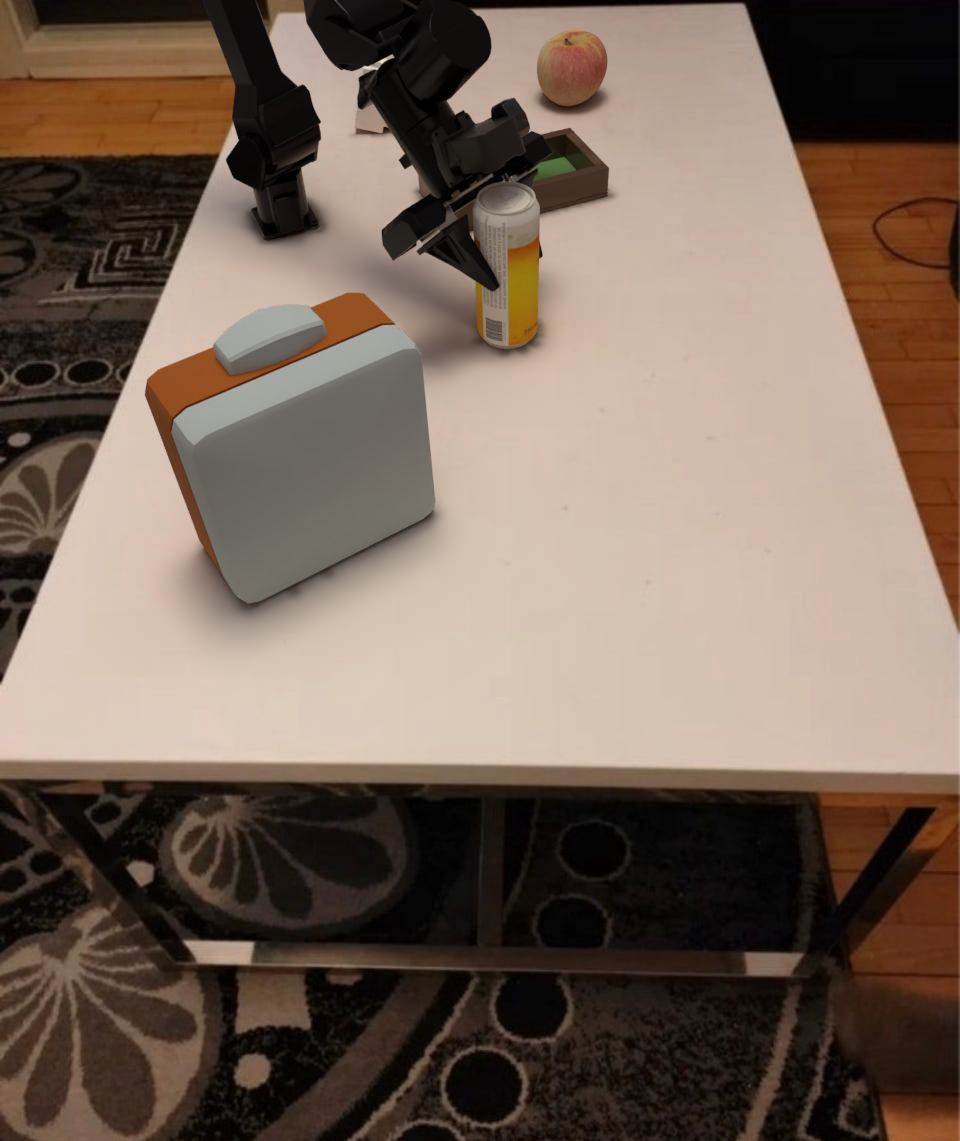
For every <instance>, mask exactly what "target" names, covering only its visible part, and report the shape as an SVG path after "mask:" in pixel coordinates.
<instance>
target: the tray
mask: <svg viewBox="0 0 960 1141" xmlns="http://www.w3.org/2000/svg"><path fill="white" fill-rule="evenodd" d="M540 134H541V135H543V137H544V139H545V140H546V142H547V144H548V145H549V147H550V149H551V150H552V152H553V153H552V154H551V155H549V156H548V157H547V158H546V159H544V160H543V161H542V162H541V163H539V164H538V165H537V166H536V167H534V168H533V169H532V170H531V171H529V173H530V172H532V171H533V170H535V169H536V168H538V175H537V176H535V177H534V180H533V185H532V190H533V191H534V193H535V196H536V199H537V201H538V203H539V206H540V214H542V213H546V212H550V211H555V210H557V209H558V210H559V209H561V208H566V207H569V206H570V207H571V206H574V205H578V204H581V203H585V202H589V201H593V200H597V199H600V198H601V199H602V198H605V197H608V191H609V190H608V189H609V175H610V167H609V166H608V165H607V164H606V163H605V162H604V161H603V160H602V159H601V158H600V157H599V155H597V154H596V152H594V151H593V150H592V149H591V148H590V146H589V145H588V144H587V143H586V142H585V141H584V140H583V139H582V138H581V137H580V136H578V134H577V133H576V132H575V131H574V130H573V129H572V128H571V127H567V128H562V129H558V130H554V131H550V132H545V133H540ZM417 178H418V191H419V193H420V194H421V196H422V198H424V197H426V196H427V195H429V194H430V192H429V191H428V189H427V188H426V186H425V184H424V183H423V181H422V180H421V178H420V177H419V175H418V174H417ZM476 183H477V182H475V183H473V184H472V185H470V186H473V185H474V184H476ZM458 194H459V192H458V191H457V192H455V193H454V194H452V195H451V196H452V197H453V198H454V197H455V196H457V195H458ZM475 201H476V199H475V200H474V201H472V202H471V203H469V204H468V205H466V206H465V207H463V208H461V209H460V210H458V211H457V212H455V215H456V216H457V218H458V219H459V218H461V217H462V216H464V215H465V214H467V215H468V221H469V230H470V232H472V231H473V206H474V203H475ZM473 232H474V231H473Z"/></svg>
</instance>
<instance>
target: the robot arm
mask: <svg viewBox="0 0 960 1141" xmlns="http://www.w3.org/2000/svg"><path fill="white" fill-rule="evenodd" d="M302 2H303V7H304V16H305V22H306V25H307V27H308V29H309V30H310V32H311V33H312V35H313V36H314V38H315V40H316V41H317V42H318V43H317V44H318V45H319V46H320V48H321V50H322V52H323V53H324V55H325V56H326V57H327V59H328V60H329V61H330V63H332V64H333V66H334V67H336V68H337V69H339V70H340V71H343V70H345V71H348V72H354V71H358V70H360V69H363V67H364V66H368V67H369V66H371V65H373V64H374V63H376V62H378V61H380V60H382V59H384V58H385V59H387V58H388V57H390V56H392V57H391V58H388V59H389V60H387V61H385V62H384V63H383V64H382V65H381V66H380V67H379V68H378V70H376V69H373V70H371V71H370V72H368V73H366V74H364V75H362V74H361V75H360V76H359V77H358V79H357V80H358V92H357V97H356V100H357V101H356V104H357V107H358V108H359V109H361V110H363V109H365V108H367V107H368V106H370V105H372V104H374V106H375V108H376V109H377V111H378V112H379V114H380V115H381V117H382V119H383V120H384V122H385V123H386V125H387V126H388V127H387V128H388V130H389V131H390V132H391V134H392V136H393V137H394V139H395V140H396V142H397V144H398V146H399V147H400V148H401V150H402V152H403V153H404V154H403V155H402V156H401V157H400V158H399V159H398V162H399V163H400V164H401V166H402V168H403V169H404V170H407V169H409V168H410V167H413V169H414V170H415V172H416V174H417V176H418V175H419V177H420V178H421V180H422V181H423V183H424V184H425V186H426V188H427V189H428V191H429V192H430V194H429V195H427V196H426V197H422V198H421V199H419V200H418V201H416V202H414V203H413V204H411V205H410V206H408V207H406V208H405V209H403V210H401V212H399V213H398V215H396V216H395V217H394V218H393V219H392V220H391V221H390V222H389V223H388V224H386V225H385V227H383V228H382V229H381V242H382V247H383V248H384V249H385V251H386V253H387V254H388V256H389V257H390V259H391V260H392V261H393V262H394V261H396V260H397V259H399V258H401V257H402V256H403V255H405V254H407V253H408V252H410V251H411V250H413V249H415V248H416V246H418V244H417V243H418V242H420V243H421V245H422V246H421V247H419V248H418V249H416V251H415V252H416V253H417V255H418V256H422V255H423V254H427V255H429V256H431V257H433V258H434V259H437V260H439V261H442V262H443V263H445V264H447V265H449V266H450V267H452V268H454V269H455V270H457V271H459V272H460V273H462V274H463V275H465V276H467V277H468V278H469V279H471V280H473V281H474V282H475V283H476V282H478V283H479V284H481V285H482V286H484V287H485V288H487V289H488V290H490V291H492V292H493V291H495V290H497V289H498V288H499V287H500V285H499V283H498V281H497V279H496V277H495V275H494V273H493V271H492V269H491V268H490V266H489V264H488V263H487V261H486V260H485V258H484V256H483V255H482V253H481V252H480V250H479V248H478V247H477V245H476V243H475V242H474V238H473V237H472V235H471V231H470V230H469V221H468V215H467V214H465V215H464V216H462V217H461V218H459V219H458V218H457V216H456V215H455V212H457V211H458V210H460V209H461V208H463V207H465V206H466V205H468V204H469V203H471V202H472V201H474V200H475V199H477V195H478V193H479V191H480V190H481V189H483V188H484V187H486V186H488V185H490V184H493V183H498V182H517V183H521V184H524V185H526V186H528V187H530V188H531V189H532V185H533V180H534V177H535V176H537V175H538V168H536V169H535V170H533V171H532V172H530V173H529V171H531V170H532V169H533V168H534V167H536V166H537V165H538V164H539V163H541V162H542V161H543V160H544V159H546V158H547V157H548V156H549V155H551V154H552V153H553V152H552V150H551V149H550V147H549V145H548V144H547V142H546V140H545V139H544V137H543V135H541V134H542V133H538V132H536V131H533V130H531V126H530V125H531V124H530V121H529V120H528V116H527V114H526V112H525V110H524V109H523V108H522V106H521V105H520V103H519V101H518V100H517V99H516V97H510V98H506V99H503V100H502V101H500V102H498V103H497V104H495V105H493V106H492V107H491V109H490V117H489V118H487V119H485V120H484V121H481V122H477V123H475V121H474V120H473V119H472V117H471V115H470V114H469V113H468V112H466V111H465V110H464V109H462V110H461V111H459V112H457V113H455V111H454V110H453V108H452V107H451V105H450V103H449V102H448V101H449V100H450V99H452V98H453V97H454V96H455V94H457V92H459V90H460V89H462V87H463V86H465V84H467V82H468V81H469V80H471V78H472V77H473V76H474V75H475V74H476V73H477V72H478V71H479V70H480V69H481V68H482V67H483V66H484V65H485V64H486V62H487V61H488V60H489V58H490V57H491V53H492V45H493V44H492V37H491V33H490V30H489V28H488V26H487V24H486V21H485V20H484V19H483V18H482V16H481V15H478V14H477V13H476V12H475V11H474V10H473V9H471V8H470V7H468V6H467V5H465V4H463V3H461V2H458V1H454V0H421V1H420V2H419V4H418V5H416V4H414V3H413V2H411V1H408V0H302ZM202 3H203V6H204V8H205V9H206V14H207V16H208V18H209V21H210V24H211V26H212V28H213V31H214V34H215V36H216V38H217V39H216V40H217V41H218V44H219V47H220V49H221V52H222V55H223V57H224V59H225V60H224V61H225V62H226V65H227V67H228V70H229V74H230V75H231V78H232V80H233V83H234V96H233V104H232V114H231V119H232V124H233V126H234V130H235V133H236V136H237V140H238V141H237V142H236V144H235V145H234V147H233V148H232V149H231V151H230V152H229V154H228V155H227V157H226V158H225V163H226V165H227V168H228V169H229V171H230V174H231V176H232V178H233V179H234V180H235V181H237V182H240V183H241V184H243V185H246V186H248V187H249V188H251V189H252V190H253V195H254V200H255V205H256V206H254V207H252V208H251V209H250V212H251V215H252V216H253V219H254V221H255V224H256V225H257V227H258V229H259V231H260V233H261V235H262V237H263V239H265V240H270V239H275V238H279V237H282V236H286V235H290V234H295V233H299V232H303V231H306V230H307V231H308V230H311V229H316V228H318V227H319V226H320V222H319V219H318V218H317V216H316V214H315V212H314V210H313V209H312V206H311V205H310V204H309V202H308V198H307V197H308V196H307V192H306V186H305V181H304V176H303V168H304V167H306V166H307V165H309V164H311V163H314V162H316V161H318V152H319V146H320V145H319V144H320V141H322V132H321V126H320V124H321V123H322V121H321V119H320V117H319V116H318V113H317V111H316V109H315V107H314V103H313V99H312V95H311V92H310V90H309V89H308V87H307V86H306V85H305V84H299V85H297V83H295V82H294V81H293V80H292V79H291V78H290V77H289V76H287V74H285V73H284V72H283V70H282V69H281V67H280V64H279V60H278V58H277V55H276V52H275V49H274V47H273V44H272V41H271V39H270V36H269V33H268V30H267V28H266V25H265V22H264V19H263V16H262V13H261V10H260V8H259V5H258V2H257V0H202ZM530 130H531V131H530ZM475 182H477V183H476V184H474V185H473V186H470V185H472V184H473V183H475ZM457 191H458V192H459V194H458V195H457V196H455V197H454V198H453V197H452V196H451V195H452V194H454V193H455V192H457ZM543 255H544V254H543V249H542V245H541V240H540V239H539V260H540V259H541V258H543Z"/></svg>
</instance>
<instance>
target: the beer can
mask: <svg viewBox="0 0 960 1141" xmlns="http://www.w3.org/2000/svg"><path fill="white" fill-rule="evenodd" d="M540 222H541V213H540V206H539V203H538V201H537V199H536V196H535V193H534V191H533V190H532V189H531V188H530V187H528V186H526V185H524V184H521V183H517V182H498V183H493V184H490V185H488V186H486V187H484V188H483V189H481V190H480V191H479V193H478V195H477V199H476V201H475V203H474V206H473V240H474V242H475V243H476V245H477V247H478V248H479V250H480V252H481V253H482V255H483V256H484V258H485V260H486V261H487V263H488V264H489V266H490V268H491V269H492V271H493V273H494V275H495V277H496V279H497V281H498V283H499V285H500V287H499V288H498V289H497V290H495V291H493V292H492V291H490V290H488V289H487V288H485V287H484V286H482V285H481V284H479V283H478V282H476V281H475V302H476V303H475V304H476V305H475V306H476V327H477V328H476V329H477V332H478V334H479V336H480V337H481V338H482V339H483V340H484V341H485V342H486V343H487V344H488V345H490V346H491V347H494V348H496V349H500V350H513V349H514V350H515V349H518V348H521V347H524V346H525V345H526V344H528V343H529V342H530V341H531V340H532V339H533V338H534V337H535V335H537V332H538V330H539V293H540V292H539V289H540V286H539V283H540V282H539V280H540V259H539V240H540V226H541V225H540V224H541V223H540Z"/></svg>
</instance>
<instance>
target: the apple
mask: <svg viewBox="0 0 960 1141" xmlns="http://www.w3.org/2000/svg"><path fill="white" fill-rule="evenodd" d="M607 69H608V53H607V49H606V47H605V45H604V43H603V41H602V40H601V38H599V36H597V35H596V34H594V33H591V32H589V31H586V30H580V29H570V30H569V29H568V30H565V31H562V32H558V33H557V34H555V35H553V36H551V37H550V38H549V39H548V40H547V41H545V43H544V44H543V45H542V47H541V48H540V50H539V52H538V56H537V62H536V74H537V80H538V85H539V87H540V90H541V91H542V93H543V94H544V95H545V96H546V97H547V98H548V100H550V101H551V102H553V103H554V104H557V105H559V106H562V107H573V106H576V105H580V104H583V103H584V102H586V101H587V100H589V99H590V98H591V97H593V95H594V94H596V92H597V91H598V90H599V89H600V87H601V85H602V83H603V81H604V79H605V77H606V73H607Z"/></svg>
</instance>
